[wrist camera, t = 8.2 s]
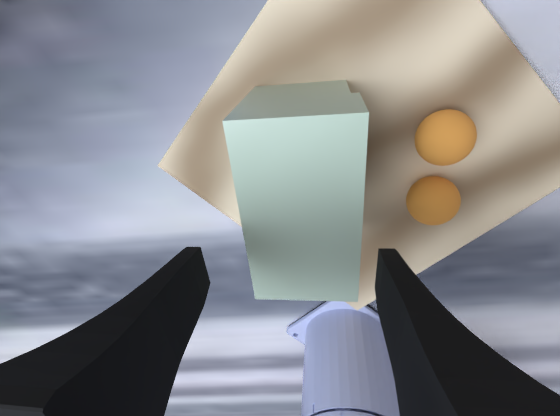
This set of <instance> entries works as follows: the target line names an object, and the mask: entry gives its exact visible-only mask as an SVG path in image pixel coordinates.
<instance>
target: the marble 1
mask: <svg viewBox="0 0 560 416" xmlns="http://www.w3.org/2000/svg"><path fill="white" fill-rule="evenodd" d="M476 139H477V130H476V126H475V124H474V122H473V121H472V119H471V118H470V117H469V116H468V115H466V114H465V113H463V112H461V111H458V110H452V109H445V110H440V111H437V112H434V113H432V114H430V115H429V116H427V117H426V118H425V119H424V120H423V121H422V122H421V123H420V125H419V126H418V128H417V131H416V133H415V147H416V150H417V152H418V154H419V155H420V156H421V157H422V158H423V159H424V160H425V161H427V162H428V163H431V164H433V165H438V166H447V165H452V164H455V163H457V162H459V161H461V160H463V159H464V158H465V157H467V156H468V155H469V154H470V152H471V151H472V149H473V148H474V146H475V143H476Z"/></svg>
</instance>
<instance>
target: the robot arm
mask: <svg viewBox="0 0 560 416" xmlns="http://www.w3.org/2000/svg"><path fill="white" fill-rule="evenodd" d="M209 286H210V280H209V277H208V273H207V269H206V266H205V262H204V258H203V255H202V251H201V247H186V248H185V249H183V250H182V251H181V252H180V253H178V254H177V255H176V256H175V257H174V258H173V259H171V260H170V261H169V262H168V263H167V264H166V265H164V266H163V267H162V268H161V269H160V270H158V271H157V272H156V273H155V274H154V275H152V276H151V277H150V278H149V279H148V280H146V281H145V282H144V283H142V284H141V285H140V286H139V287H137V288H136V289H135V290H133V291H132V292H131V293H129V294H128V295H127V296H125V297H124V298H123V299H121V300H120V301H118V302H117V303H116V304H114V305H113V306H111V307H109V308H108V309H106V310H105V311H103V312H102V313H100V314H99V315H97V316H95V317H94V318H92V319H90V320H89V321H87V322H85V323H83V324H82V325H80V326H78V327H76V328H75V329H73V330H71V331H69V332H68V333H66V334H64V335H62V336H60V337H58V338H56V339H54V340H52V341H50V342H48V343H46V344H44V345H42V346H40V347H38V348H36V349H33V350H31V351H29V352H27V353H24V354H22V355H20V356H18V357H15V358H13V359H11V360H8V361H6V362H4V363H1V364H0V416H164V414H165V410H166V407H167V403H168V400H169V396H170V393H171V389H172V386H173V383H174V380H175V377H176V374H177V370H178V367H179V364H180V362H181V359H182V356H183V354H184V351H185V349H186V347H187V344H188V342H189V340H190V337H191V335H192V333H193V330H194V328H195V326H196V323H197V321H198V319H199V316H200V314H201V312H202V309H203V307H204V304H205V300H206V297H207V293H208V289H209ZM375 294H376V302H377V310H378V314H377V313H376V312H375V311H373V310H372V309H371V308H369V307H368V306H367V305H366V306H364V307H362V308H361V309H359V310H358V311H357V310H356V309H354V308H353V307H352V306H350V305H349V304H347V303H346V302H343V301H326V302H325V303H323V304H322V305H320V306H319V307H317V308H316V309H314V310H313V311H311V312H310V313H308V314H307V315H305V316H304V317H302V318H301V319H299V320H298V321H296V322H295V323H293V324H292V325H290V326H289V327H288V328H287V333H288V334H289V335H290V336H292V337H293V338H295V339H296V340H298V341H300V342H301V343H303V344H304V345H305V355H304V373H303V391H302V410H301V416H560V395H558V394H557V393H555V392H554V391H552V390H550V389H549V388H547V387H546V386H544V385H542V384H541V383H539V382H538V381H536V380H535V379H533V378H532V377H530V376H529V375H527V374H526V373H525V372H523V371H522V370H520V369H519V368H517V367H516V366H514V365H513V364H512V363H510V362H509V361H508V360H506V359H505V358H503V357H502V356H501V355H500V354H498V353H497V352H496V351H494V350H493V349H492V348H490V347H489V346H488V345H487V344H485V343H484V342H483V341H481V340H480V339H479V338H478V337H477V336H475V335H474V334H473V333H472V332H471V331H469V330H468V329H467V328H466V327H465V326H464V325H463V324H462V323H461V322H460V321H458V320H457V319H456V318H455V317H454V316H453V315H452V314H451V313H450V312H449V311H448V310H447V309H446V308H445V307H444V306H443V305H442V304H441V303H440V302H439V301H438V300H437V299H436V298H435V296H434V295H433V294H432V293H431V292H430V291H429V290H428V289H427V287H426V286H425V285H424V284H423V283H422V282H421V281H420V279H419V278H418V277H417V276H416V275H415V273H414V272H413V271H412V270H411V268H410V267H409V266H408V264H407V263H406V262H405V260H404V259H403V258H402V256H401V255H400V254H399V252H398V251H397V250H396V249H391V248H378V258H377V268H376V278H375Z"/></svg>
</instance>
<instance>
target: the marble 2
mask: <svg viewBox="0 0 560 416" xmlns="http://www.w3.org/2000/svg"><path fill="white" fill-rule="evenodd" d="M460 204H461V197H460V193H459V191H458V189H457V187H456V186H455V185H454V184H453V183H452V182H451V181H449V180H447V179H445V178H442V177H438V176H429V177H425V178H422V179H420V180H418V181H417V182H415V183H414V184H413V185H412V186H411V188H410V189H409V191H408V193H407V197H406V205H407V209H408V211H409V213H410V214H411V216H412V217H413V218H414V219H416V220H417V221H419V222H420V223H423V224H426V225H440V224H444V223H446V222H448V221H450V220H451V219H452V218H453V217H454V216H455V215H456V214H457V212H458V210H459V208H460Z"/></svg>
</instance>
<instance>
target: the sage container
mask: <svg viewBox="0 0 560 416" xmlns="http://www.w3.org/2000/svg"><path fill="white" fill-rule="evenodd" d="M222 122H223V127H224V133H225V138H226V144H227V149H228V154H229V160H230V165H231V171H232V176H233V181H234V187H235V192H236V197H237V203H238V208H239V214H240V219H241V224H242V230H243V235H244V240H245V246H246V251H247V257H248V262H249V267H250V273H251V278H252V284H253V289H254V294H255V299H272V300H308V301H343V302H358V294H359V277H360V260H361V242H362V225H363V208H364V191H365V173H366V156H367V139H368V122H369V111H368V109H367V107H366V105H365V103H364V101H363V99H362V96H361V94H360V92H358V93H351V92H350V90H349V87H348V84H347V81H346V80H336V81H322V82H309V83H295V84H282V85H268V86H255V87H254V88H253V89H252V90H251V91H250V92H249V93H248V94H247V95H246V97H245V98H244V99H243V100H242V101H241V102H240V103H239V104H238V105H237V106H236V107H235V108H234V109H233V110H232V111H231V112H230V113H229V114H228V115H227V117H226V118H225V119H224V120H223V121H222Z"/></svg>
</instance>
